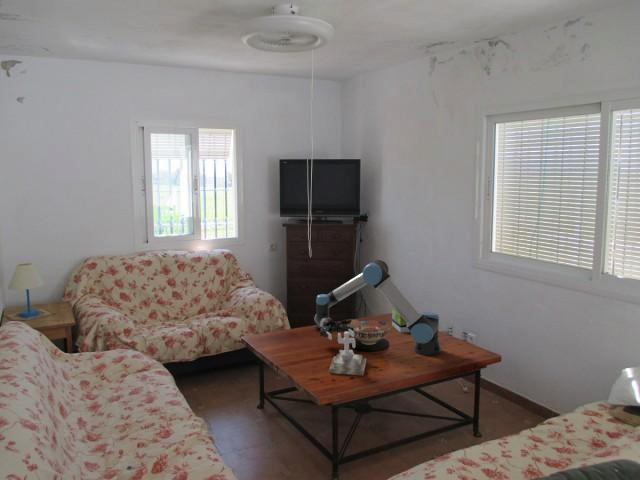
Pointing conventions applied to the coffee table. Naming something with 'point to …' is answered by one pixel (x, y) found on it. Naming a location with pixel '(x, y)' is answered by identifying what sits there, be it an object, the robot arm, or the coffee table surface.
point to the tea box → (399, 322)
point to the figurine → (346, 346)
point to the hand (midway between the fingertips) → (342, 336)
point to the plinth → (346, 370)
